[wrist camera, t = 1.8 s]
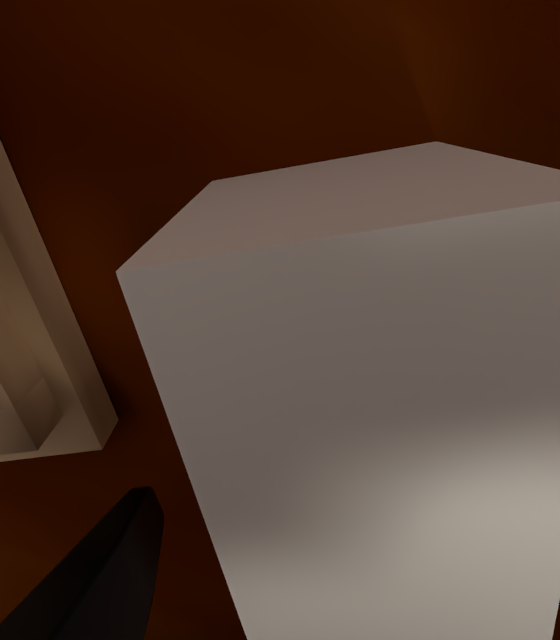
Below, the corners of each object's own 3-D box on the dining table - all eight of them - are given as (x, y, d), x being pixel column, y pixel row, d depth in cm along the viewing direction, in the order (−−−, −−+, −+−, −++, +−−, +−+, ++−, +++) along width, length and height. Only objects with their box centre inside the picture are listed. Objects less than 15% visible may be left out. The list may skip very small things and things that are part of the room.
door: (433, 140, 8) (638, 187, 3) (437, 568, 13) (517, 817, 8) (213, 179, 8) (114, 271, 3) (305, 580, 13) (313, 824, 9)
